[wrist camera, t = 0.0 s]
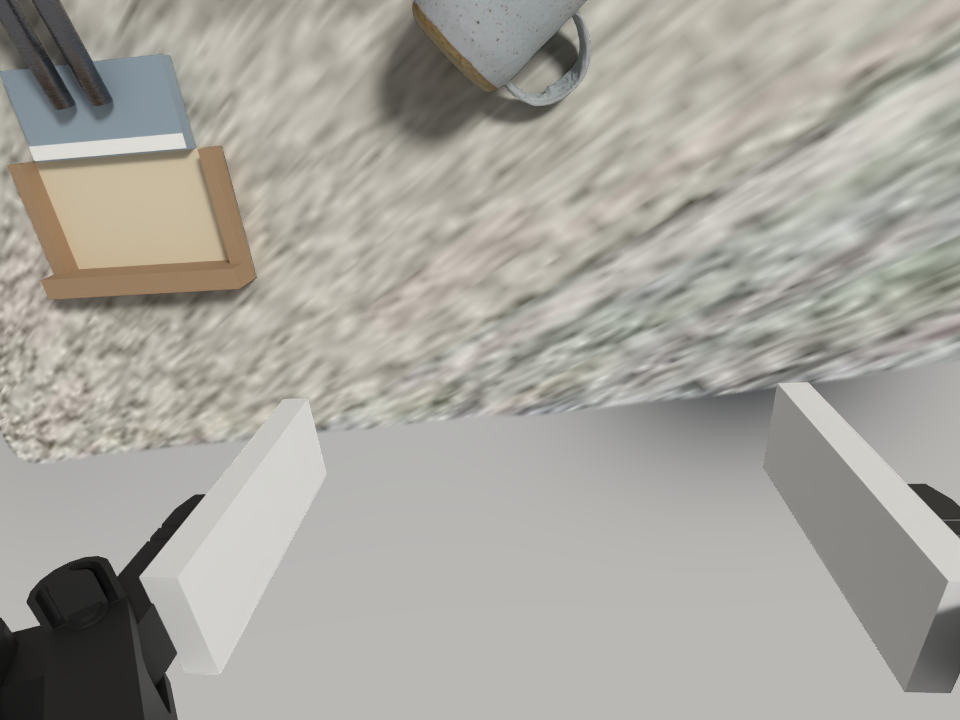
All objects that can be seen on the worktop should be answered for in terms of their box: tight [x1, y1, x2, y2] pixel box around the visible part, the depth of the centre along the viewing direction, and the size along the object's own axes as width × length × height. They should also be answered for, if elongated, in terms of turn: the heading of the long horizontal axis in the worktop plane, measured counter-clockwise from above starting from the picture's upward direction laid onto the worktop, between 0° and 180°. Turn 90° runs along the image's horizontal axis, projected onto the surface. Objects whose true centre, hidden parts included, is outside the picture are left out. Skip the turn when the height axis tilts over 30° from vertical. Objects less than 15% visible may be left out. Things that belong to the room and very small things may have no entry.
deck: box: [0, 54, 196, 162], centre depth 39 cm, size 6×12×1 cm, turn 95°
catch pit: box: [7, 146, 257, 299], centre depth 42 cm, size 10×16×3 cm, turn 95°
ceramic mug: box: [412, 0, 591, 106], centre depth 32 cm, size 11×8×8 cm
